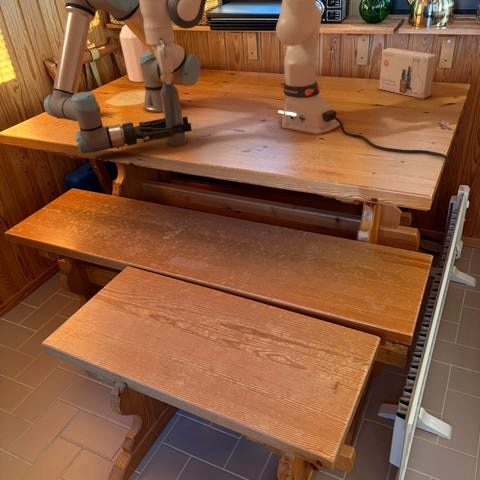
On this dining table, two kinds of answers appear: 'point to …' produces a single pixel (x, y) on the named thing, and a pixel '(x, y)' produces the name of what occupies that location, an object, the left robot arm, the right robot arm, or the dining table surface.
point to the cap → (164, 78)
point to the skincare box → (407, 72)
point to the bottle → (172, 112)
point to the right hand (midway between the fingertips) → (167, 80)
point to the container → (132, 53)
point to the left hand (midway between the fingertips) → (189, 123)
